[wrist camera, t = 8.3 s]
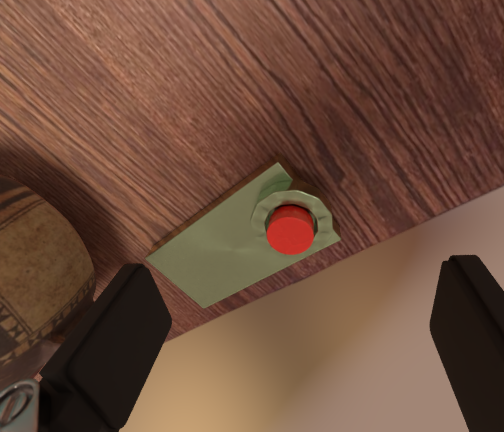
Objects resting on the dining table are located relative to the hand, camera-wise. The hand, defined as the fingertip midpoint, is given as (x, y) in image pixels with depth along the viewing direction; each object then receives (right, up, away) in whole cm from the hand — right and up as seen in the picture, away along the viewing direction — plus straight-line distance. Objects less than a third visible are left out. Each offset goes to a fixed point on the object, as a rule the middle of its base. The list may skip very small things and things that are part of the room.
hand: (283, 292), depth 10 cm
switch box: (-2, 0, +20) cm, 21 cm away
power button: (+2, +2, +14) cm, 14 cm away
